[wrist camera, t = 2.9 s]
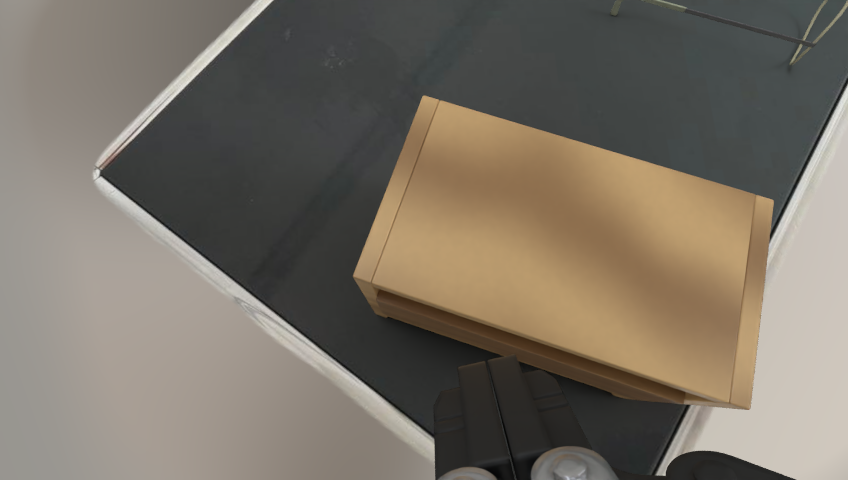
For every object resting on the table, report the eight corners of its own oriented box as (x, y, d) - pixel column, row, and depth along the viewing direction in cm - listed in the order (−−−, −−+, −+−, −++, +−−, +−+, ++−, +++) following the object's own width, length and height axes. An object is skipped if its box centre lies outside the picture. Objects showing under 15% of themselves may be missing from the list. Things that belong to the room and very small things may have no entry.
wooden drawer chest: (622, 402, 28) (750, 416, 17) (374, 317, 29) (350, 281, 18) (649, 262, 30) (775, 199, 20) (420, 189, 31) (423, 94, 21)
